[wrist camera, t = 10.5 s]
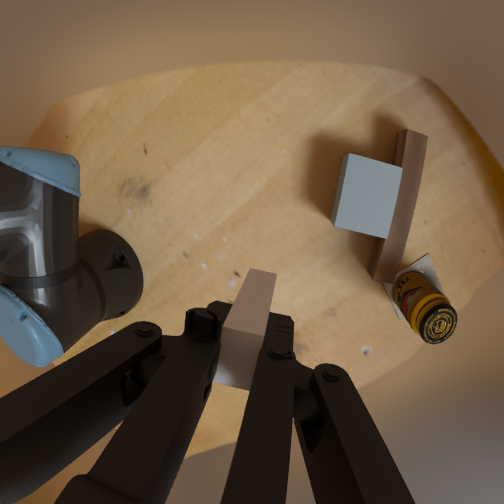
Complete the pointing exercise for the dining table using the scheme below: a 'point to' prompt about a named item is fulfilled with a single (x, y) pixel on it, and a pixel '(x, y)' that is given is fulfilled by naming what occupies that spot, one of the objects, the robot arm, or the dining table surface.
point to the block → (366, 195)
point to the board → (400, 206)
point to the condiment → (423, 301)
